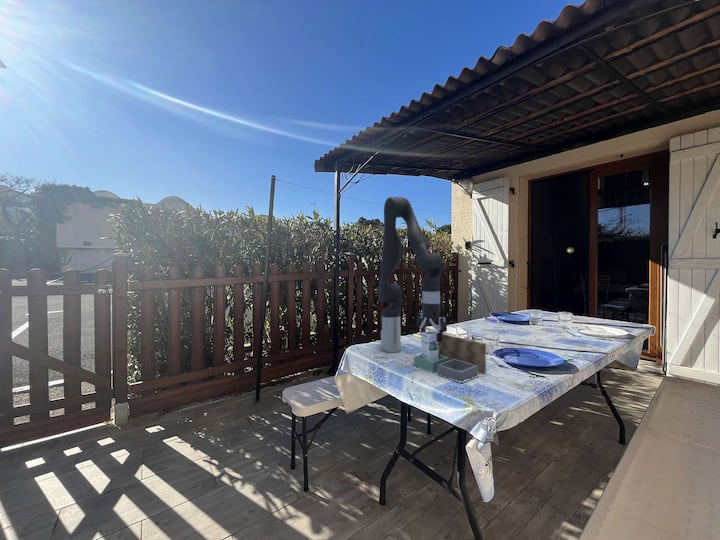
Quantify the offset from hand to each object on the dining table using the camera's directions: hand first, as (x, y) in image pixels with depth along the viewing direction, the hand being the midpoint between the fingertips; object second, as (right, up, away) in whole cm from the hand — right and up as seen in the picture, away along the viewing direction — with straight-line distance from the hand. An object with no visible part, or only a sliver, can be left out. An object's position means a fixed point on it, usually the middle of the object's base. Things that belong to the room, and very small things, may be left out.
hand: (431, 339), depth 132 cm
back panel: (+11, -11, +1) cm, 16 cm away
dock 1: (0, -12, 0) cm, 12 cm away
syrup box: (0, -12, +1) cm, 12 cm away
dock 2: (+8, -12, -10) cm, 18 cm away
